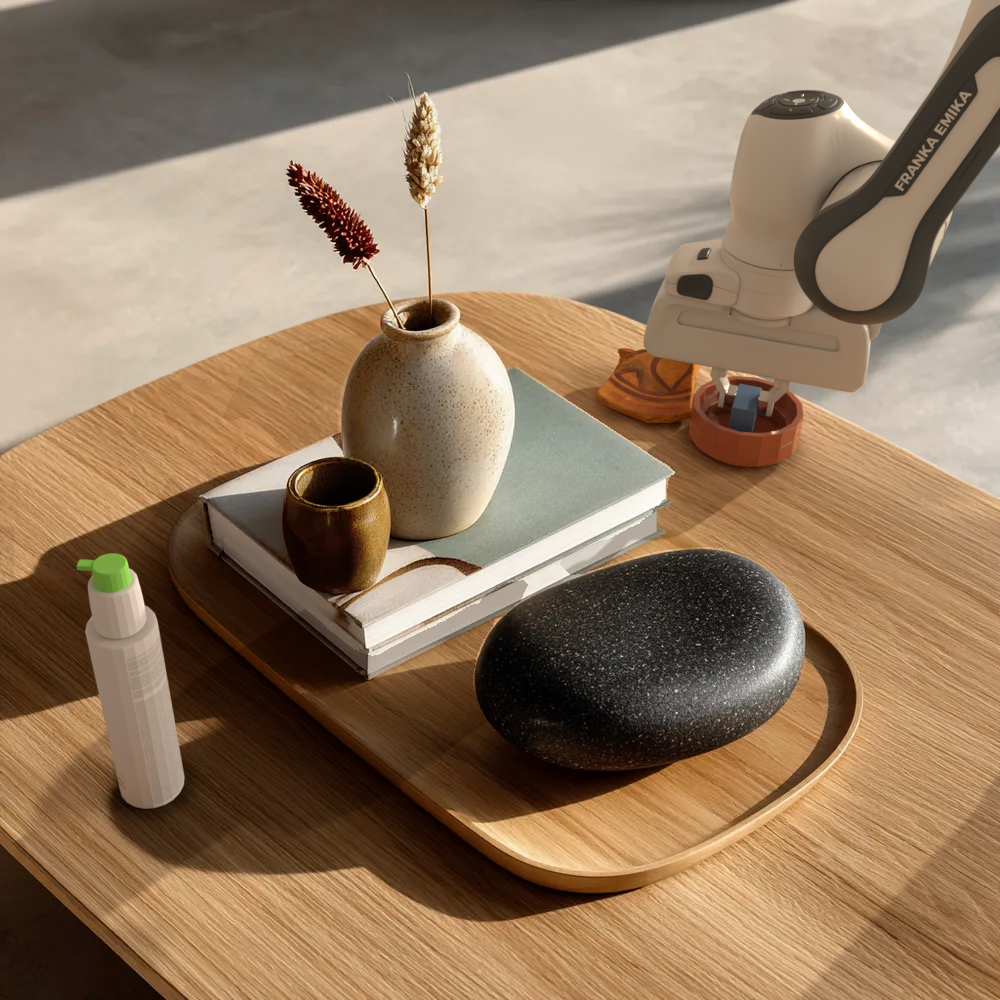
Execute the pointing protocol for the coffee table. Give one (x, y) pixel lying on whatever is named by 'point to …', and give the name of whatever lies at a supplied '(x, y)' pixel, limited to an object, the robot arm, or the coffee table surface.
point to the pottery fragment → (650, 387)
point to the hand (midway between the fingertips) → (744, 408)
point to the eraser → (744, 408)
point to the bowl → (745, 448)
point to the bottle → (132, 684)
